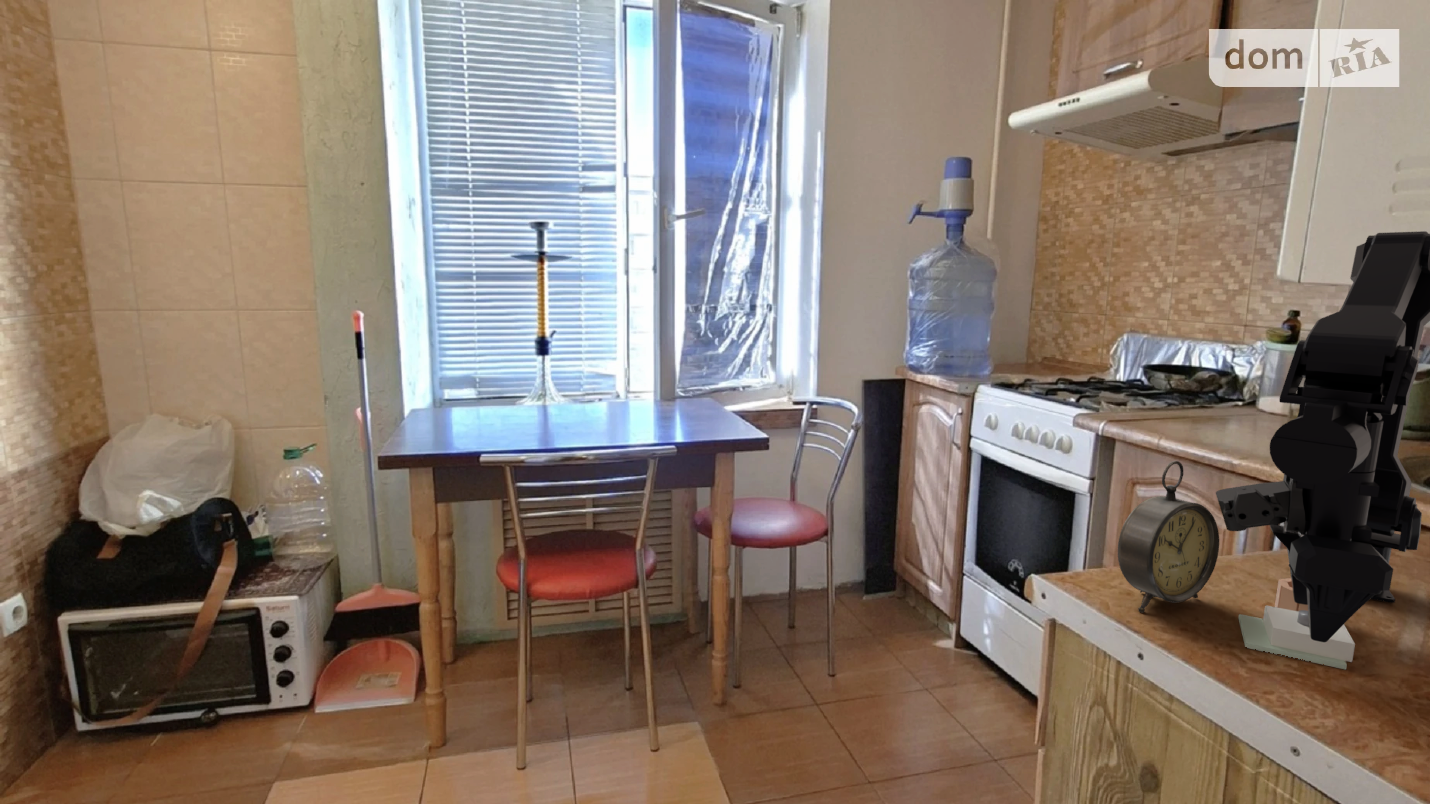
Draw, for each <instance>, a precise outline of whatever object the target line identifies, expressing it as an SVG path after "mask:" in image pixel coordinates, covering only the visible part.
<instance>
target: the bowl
mask: <svg viewBox="0 0 1430 804" xmlns="http://www.w3.org/2000/svg"><path fill="white" fill-rule="evenodd" d="M1274 607H1277V608H1282V609H1288V610H1293V611H1298V612H1299V611H1300V610H1305V611H1308V605H1304V604H1298V603H1296V602H1295V601H1294V596H1293V588H1292V581H1291V577H1288V578H1287V577H1286V578H1279V579H1278V582H1277V590H1276V596H1275V603H1274Z"/></svg>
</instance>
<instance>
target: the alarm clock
mask: <svg viewBox="0 0 1430 804" xmlns="http://www.w3.org/2000/svg"><path fill="white" fill-rule="evenodd" d="M1174 465H1177V466H1178V467H1179V472H1180V474H1179V478H1178V481H1177V482H1176V484H1175V485H1173V484H1169V485H1166V477H1167V473H1168V471H1169V470H1170V468H1171V467H1172V466H1174ZM1183 477H1184V467H1183V464H1182V463H1181V462H1180V461H1179V460H1173V461H1171V462H1169V463H1168V464H1167V466H1166V467H1165V468H1164V469H1163V473H1162V476H1161V485H1162V487H1163V488H1164V489H1165V491H1166V495H1165V496H1164V495H1158V496H1153V497H1149V498H1148V499H1145V500H1144V501H1142V502H1141V503H1139V504H1138V505H1137V506H1136V507H1135V508H1134V509H1133V510H1132V511H1131V512H1130V513H1129V515H1128V516H1127V517H1126V519H1125V521H1124V523H1123V525H1122V528H1121V531H1120V533H1119V536H1118V537H1119V538H1118V543H1117V561H1118V564H1119V568H1120V572H1121V573H1122V575H1123V577H1124V579H1125V580H1126V581H1127V583H1128V584H1129V585H1130V586H1131V587H1133V588H1134V589H1136V590H1138V591H1139V593H1145V594H1144V595H1143V597H1142V601H1141V603H1140V604H1141V605H1140V606H1138V608H1137V610H1138V612H1139V613H1142V614H1143V613H1145V612H1146V611H1145V610H1146V607H1147V606H1148V605H1149V604H1150V602H1151V600H1152V599H1153V598H1159V599H1161V600H1163V601H1166V602H1169V603H1173V604H1176V603H1177V604H1178V603H1182V602H1185V601H1187V600H1190V599H1191V598H1193V599H1198V598H1199V592H1201V590H1202V589H1203V588H1204V587H1205V585H1206V584H1207V583H1208V581H1209V580H1210V578H1211V576H1212V575H1213V572H1214V570H1215V567H1216V565H1217V561H1218V556H1219V551H1220V533H1219V527H1218V525H1217V521H1216V519H1215V517H1214V515H1213V513H1211V512H1210V510H1209V509H1208V508H1207V507H1206V506H1204V505H1203V504H1200V503H1198V502H1192V501H1188V500H1182V499H1179V498H1177V497H1176V491H1177V488H1178V487H1179V486H1180V485H1181V483H1182V481H1183V479H1184V478H1183Z"/></svg>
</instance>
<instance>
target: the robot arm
mask: <svg viewBox="0 0 1430 804" xmlns="http://www.w3.org/2000/svg"><path fill="white" fill-rule="evenodd" d="M1349 277H1350V278H1349V279H1350V280H1351V282H1352V285H1351V287H1350V289H1349V291H1348V293H1347V295H1346V297H1345V300H1344V302H1343V304H1342V305H1341V307H1340V309H1339V311H1337V312H1334V313H1332V314H1329V315H1326V316H1324V317H1321V318H1319V319H1318V320H1317V321H1316V322H1315V323H1314V325H1313V327H1312V328H1311V330H1310V331H1309V333H1308V334H1307V336H1306V339H1303V340H1302V339H1301V340H1299V341H1298V343H1297V344H1296V347H1295V350H1294V353H1293V356H1292V360H1291V363H1290V366H1289V368H1288V371H1287V375H1286V377H1285V380H1284V384H1283V387H1282V390H1281V393H1280V394H1279V395H1280V396H1279V403H1282V404H1283V403H1284V404H1290V405H1299V407H1298V408H1299V409H1298V414H1297V417H1296V418H1294V419H1291V420H1290V421H1287V422H1286V423H1284V424H1282V425H1281V426H1280V427H1279V428H1278V429H1277V430H1276V431H1275V432H1274V434H1273V436H1272V437H1271V439H1270V442H1269V455H1270V457H1271V460H1272V462H1273V464H1274V465H1275V466H1276V468H1277V469H1278V470H1279V471H1280V472H1281V473H1282V474H1283V480H1281V481H1280V480H1279V481H1274V482H1273V481H1272V482H1260V483H1254V484H1253V483H1252V484H1248V485H1241V486H1235V487H1228V488H1223V489H1219V490H1217V491H1215V495H1216V499H1217V502H1218V505H1219V508H1220V512H1221V516H1222V518H1223V521H1224V524H1225V528H1226V530H1227V531H1229V532H1242V531H1243V532H1244V531H1246V530H1247V529H1251V528H1257V527H1267V526H1269V527H1270V530H1271V531H1272V533H1273V535H1274V536H1275V537H1276V538H1277V540H1279V541H1280V543H1282V544H1283V545H1284V547H1286V550H1287V556H1288V563H1289V564H1288V567H1289V571H1290V573H1289V574H1290V578H1291V581H1292V588H1293V596H1294V601H1295V602H1296V603H1298V604H1304V605H1308V615H1309V628H1310V637H1311V639H1312V640H1315V641H1319V642H1327V641H1328V640H1329V639H1330V638H1331V637H1332V636H1333V635H1334V634H1335V633H1336V632H1337V631H1338V630H1339V629H1340V628H1341V627H1342V626H1343V624H1344V625H1345V624H1346V623H1347V622H1348V621H1349V619H1350V618H1352V617H1353V616H1354V614H1356V612H1357V611H1359V609H1361V608H1362V607H1364V605H1365V604H1366V603H1368V601H1370V600H1374V601H1378V602H1383V603H1384V602H1385V603H1391V604H1393V603H1396V602H1395V600H1396V598H1395V597H1394V595H1393V594H1392V593H1391V591H1390V589H1391V585H1392V578H1393V572H1394V568H1393V567H1392V566H1391V564H1390V560H1391V559H1390V558H1391V553H1392V549H1394V550H1398V552H1402V553H1406V551H1407V550H1408V551H1417V550H1418V547H1419V542H1420V536H1421V531H1422V529H1421V527H1422V516H1423V515H1422V514H1423V512H1422V511H1421V510H1420V509H1419V508H1418V504H1417V497H1412V496H1410V494H1411V493H1410V492H1411V487H1412V480H1411V478H1410V477H1409V474H1408V473H1407V471H1406V469H1405V468H1404V466H1403V464H1402V463H1401V460H1400V458H1399V457H1398V453H1399V449H1400V445H1401V444H1400V443H1401V440H1402V436H1403V435H1402V433H1403V430H1404V425H1405V419H1406V414H1407V410H1408V406H1409V405H1408V404H1409V400H1410V397H1411V396H1410V395H1411V391H1412V388H1413V385H1414V382H1415V379H1416V376H1417V373H1418V370H1419V369H1418V368H1419V363H1420V361H1419V359H1418V356H1419V352H1420V347H1421V341H1422V337H1423V331H1424V327H1425V326H1426V325H1427V324H1428V323H1429V322H1430V233H1429V232H1427V231H1425V230H1424V231H1399V232H1397V231H1395V232H1377V233H1376V234H1374V235H1368V236H1367V238H1366V240H1365V242H1364V243H1361V244H1359V245H1357V246H1356V249H1355V253H1354V257H1353V264H1352V267H1351V274H1350V276H1349ZM1304 378H1305V379H1304ZM1303 379H1304V381H1303ZM1302 381H1303V386H1300V385H1301V383H1302ZM1395 532H1400V533H1395Z"/></svg>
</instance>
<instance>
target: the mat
mask: <svg viewBox="0 0 1430 804" xmlns="http://www.w3.org/2000/svg"><path fill="white" fill-rule="evenodd" d="M1237 618H1238V622H1239V623H1238V624H1239V628H1240V631H1241V634H1242V640H1243V642H1244V643H1243V644H1244V647H1247V649H1251V650H1255V649H1256V651H1259V652H1263V651H1265V652H1264V653H1268V652H1270V653H1269V654H1273V653H1274V654H1273V655H1277V654H1281V655H1280V656H1282V655H1285V656H1284V657H1286V656H1288V657H1287V658H1291V657H1293V658H1292V659H1295V658H1298V659H1297V660H1300V659H1301V660H1300V661H1304V660H1305V662H1309V661H1311V662H1310V663H1313V664H1319V665H1323V664H1324V665H1323V666H1327V667H1328V666H1329V667H1332V668H1337V669H1341V670H1347V667H1348V666H1347V661H1344V660H1340V659H1335V658H1330V657H1325V656H1321V655H1316V654H1311V653H1307V652H1302V651H1297V650H1292V649H1288V648H1283V647H1278V646H1274V645H1271V644H1270V641H1269V638H1268V635H1267V632H1266V629H1265V626H1264V623H1263V618H1260V617H1257V616H1252V615H1246V614H1241V613H1239V614H1238V617H1237ZM1302 659H1303V660H1302Z"/></svg>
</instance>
